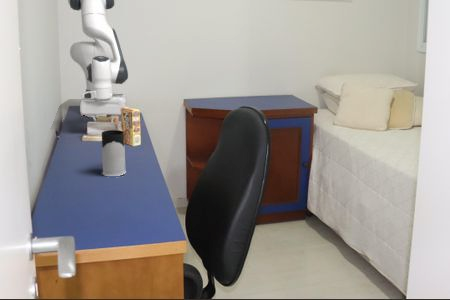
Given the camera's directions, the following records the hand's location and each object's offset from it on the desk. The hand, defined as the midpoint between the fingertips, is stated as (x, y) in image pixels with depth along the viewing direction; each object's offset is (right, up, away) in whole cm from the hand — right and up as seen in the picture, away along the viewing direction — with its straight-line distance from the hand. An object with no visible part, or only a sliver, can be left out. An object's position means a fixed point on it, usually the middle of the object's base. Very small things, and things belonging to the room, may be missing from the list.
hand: (104, 124), depth 241 cm
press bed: (0, -5, +5) cm, 7 cm away
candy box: (+14, -9, -10) cm, 20 cm away
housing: (0, -3, +1) cm, 3 cm away
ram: (0, -1, +11) cm, 11 cm away
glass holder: (+15, -20, -49) cm, 55 cm away
